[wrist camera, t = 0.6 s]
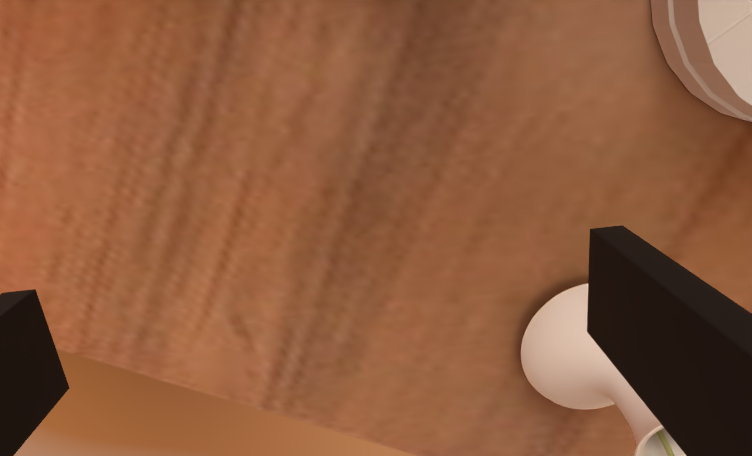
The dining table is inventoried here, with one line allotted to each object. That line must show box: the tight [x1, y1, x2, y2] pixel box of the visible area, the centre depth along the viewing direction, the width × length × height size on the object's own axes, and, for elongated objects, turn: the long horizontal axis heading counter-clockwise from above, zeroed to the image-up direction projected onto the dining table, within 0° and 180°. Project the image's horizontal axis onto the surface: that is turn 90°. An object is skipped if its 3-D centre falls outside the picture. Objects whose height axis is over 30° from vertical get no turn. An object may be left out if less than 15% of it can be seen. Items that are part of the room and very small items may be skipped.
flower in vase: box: [521, 284, 686, 456], centre depth 33 cm, size 13×11×25 cm
